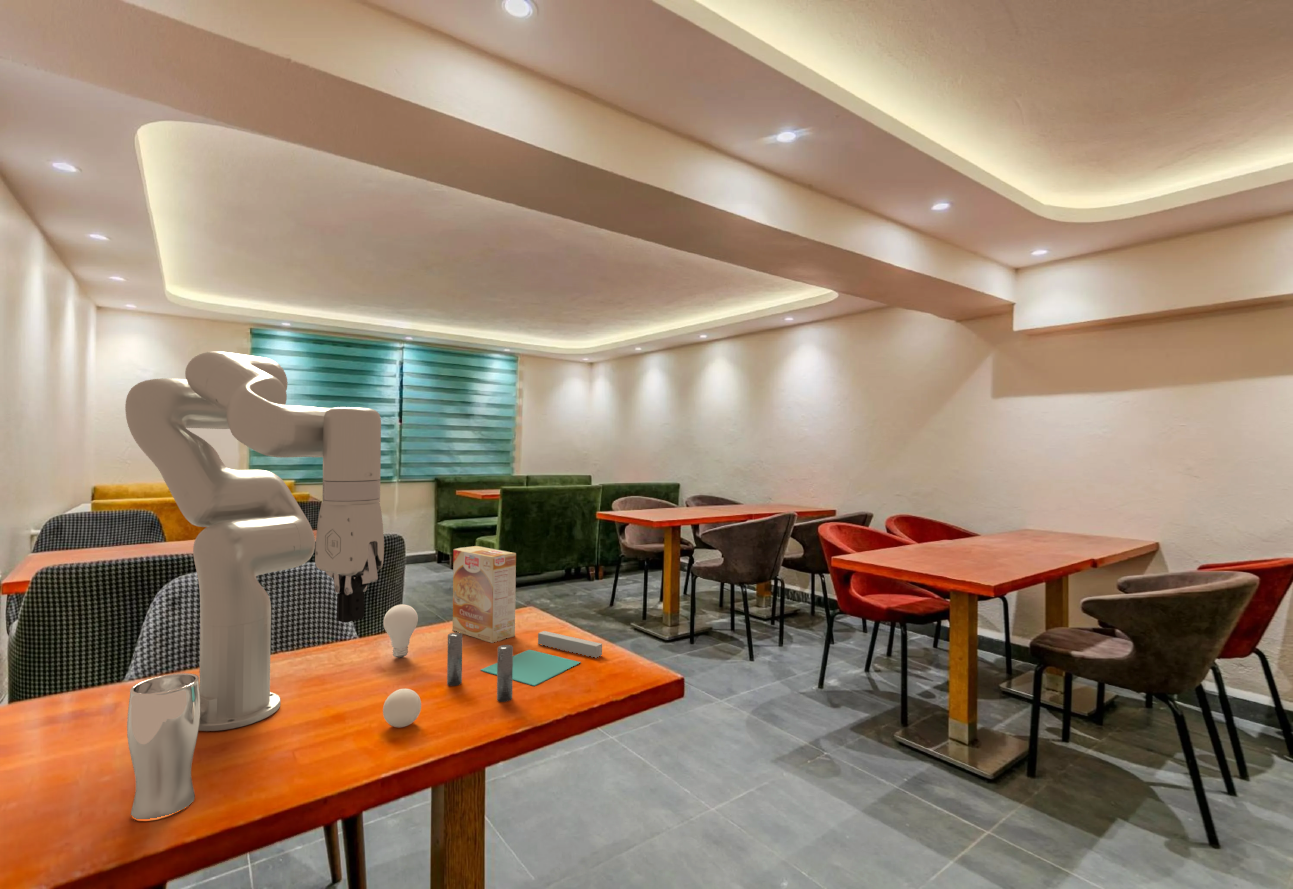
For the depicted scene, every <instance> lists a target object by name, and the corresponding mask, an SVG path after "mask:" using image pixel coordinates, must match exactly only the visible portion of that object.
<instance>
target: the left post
mask: <svg viewBox="0 0 1293 889" xmlns="http://www.w3.org/2000/svg"><path fill="white" fill-rule="evenodd" d="M446 659H447V663H446V664H447V667H446V668H447V671H446V672H447V674H446V685H447V686H450V687H455V686H459V685H461V684H462V683H463V634H462V633H459V632H450V633H449V634H447V658H446Z"/></svg>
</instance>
